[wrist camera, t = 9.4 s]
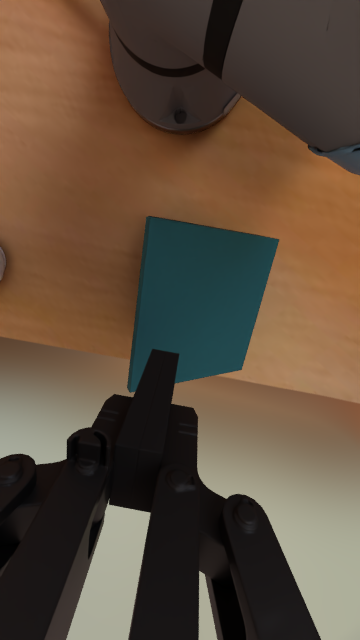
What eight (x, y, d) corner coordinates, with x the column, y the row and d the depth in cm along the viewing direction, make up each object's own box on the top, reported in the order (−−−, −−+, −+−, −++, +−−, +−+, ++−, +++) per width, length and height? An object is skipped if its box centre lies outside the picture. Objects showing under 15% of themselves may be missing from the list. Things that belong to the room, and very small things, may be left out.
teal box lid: (126, 388, 25) (129, 392, 25) (146, 216, 20) (150, 217, 19) (237, 366, 33) (241, 369, 32) (273, 238, 27) (279, 239, 27)
